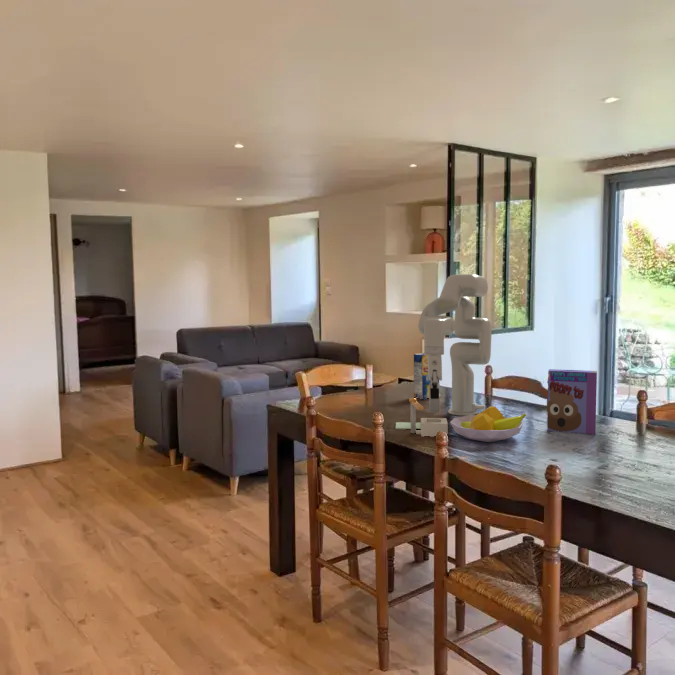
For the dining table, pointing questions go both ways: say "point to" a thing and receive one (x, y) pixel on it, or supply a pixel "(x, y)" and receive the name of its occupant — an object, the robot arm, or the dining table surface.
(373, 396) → the dining table surface
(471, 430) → the fruit bowl
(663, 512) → the dining table surface
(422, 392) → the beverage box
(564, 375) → the cereal box
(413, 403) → the bar
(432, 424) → the socket block
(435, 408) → the plug
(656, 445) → the dining table surface
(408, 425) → the mat
